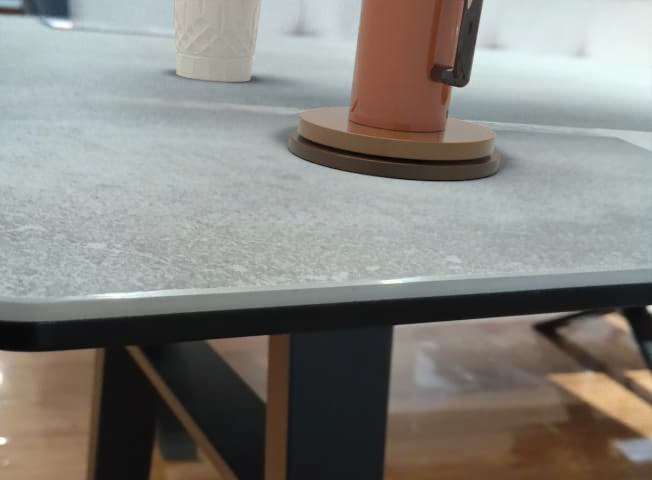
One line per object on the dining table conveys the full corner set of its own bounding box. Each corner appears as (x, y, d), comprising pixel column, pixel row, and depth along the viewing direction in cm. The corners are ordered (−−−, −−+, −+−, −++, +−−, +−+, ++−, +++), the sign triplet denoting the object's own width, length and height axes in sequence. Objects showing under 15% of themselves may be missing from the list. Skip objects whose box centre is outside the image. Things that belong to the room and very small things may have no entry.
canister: (262, 123, 56) (280, -114, 51) (409, 121, 62) (440, -92, 56) (374, 164, 47) (411, -121, 41) (535, 157, 53) (587, -93, 47)
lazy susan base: (462, 143, 62) (464, 131, 61) (529, 186, 50) (532, 172, 50) (277, 130, 60) (278, 118, 60) (302, 172, 48) (303, 158, 48)
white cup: (160, 75, 83) (163, -44, 78) (239, 78, 85) (246, -37, 81) (184, 87, 76) (189, -42, 72) (269, 90, 79) (278, -34, 74)
